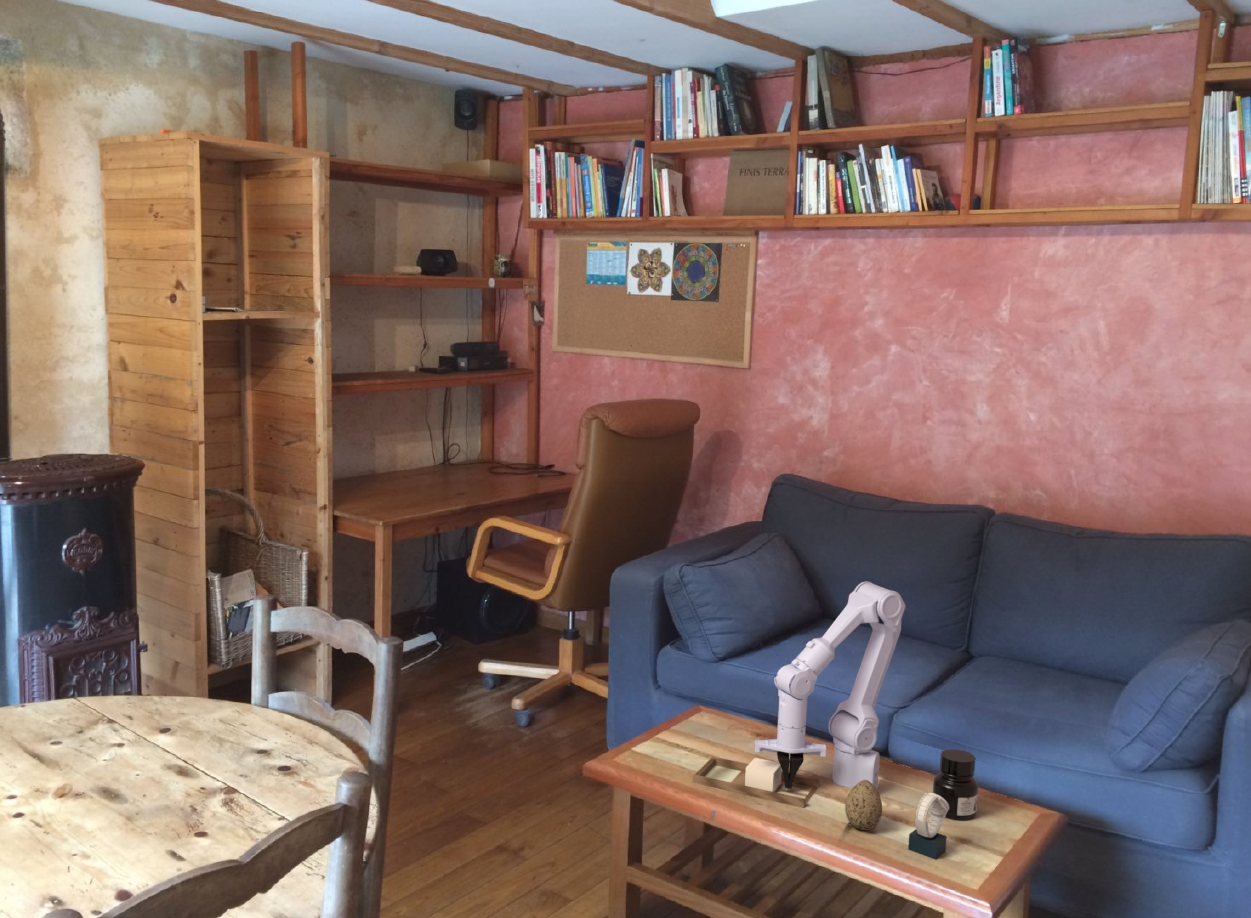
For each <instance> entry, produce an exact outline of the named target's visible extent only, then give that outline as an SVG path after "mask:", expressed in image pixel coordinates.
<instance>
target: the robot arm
mask: <svg viewBox="0 0 1251 918" xmlns="http://www.w3.org/2000/svg"><path fill="white" fill-rule="evenodd" d="M847 600H848V601H847V604H846V606H845V607H844V608H843V610H842V611H841V612H840V614H838V616H837V617H836V619H835V620H834V621H833V623H832V624H831V625H830V627H828V629H827V630H826V632H825V633H824V634H823V636H822V637H816V638H812V640H809V641H808V642H807V643H806V644H805V648H803V650H801V652H800V653H799V654H798V655H797V656H796V657H795V659H792V660H791V663H790V664H789V663H788V664H786V665H784V666H781V667H780V669H778V671H777V673H776V677H774V679H773V680H774V681H773V682H774V685H775V687H776V688H777V690H778V693H777V695H778V716H777V730H776V731H777V732H776V733H777V734H776V735H777V736H776V738H774V739H755V740H754V752H755V753H761V752H764V753H765V752H766V753H776V756H777V757H776V758H777V759H778V760H777V761H778V763H780V766H781V768H782V771H783V775H784V781H785V783H784V788H785V789H792V788H793V781H794V778H795V775H796V774H798V771H799V769H801V766H802V765H803V763H804V755H808V756H809V755H810V756H811V755H812V756H820V757H821V758H826V757H827V745H826V744H824V743H823V744H821V743H816V742H810V741H807V740H806V725H807V709H808V697H809V696H810V695H811V694H812V693H813V692H814V689H815V684H816V682H817V681H818V676H820V674H821V673H822V672H823V671H824V670H825V669H826V668H827V666H828V665H829V664H830V663H831V662H832V661H833V660H834V659H835V649H837V647H838V646H839V645H840V644H841V643H842V642H844V640H845V639H846V638H847V637H848V636H849V635H850V634H851V633H853V631H854V630H856V629H857V628H858V627H859V625H861V624H869V625H870V627H871V629H872V632H871V635H870V638H869V640H868V642H867V646H866V648H865V652H864V654H863V658H862V659H861V664H860V667H859V669H858V671H857V672H858V673H857V675H856V677H855V680H854V684H853V685H852V690H851V692H850V695H849V698H847V699H846V700H843V701H841V702H839V703H838V707H837V709H836V710H835V712H834V713H833V714H832V715H831V717H830V718H829V720H828V721H829V722H828V725H827V726H828V727H827V728H828V732H829V734H830V735H831V736H832V738H833V739H832V742H833V744H834V745H833V746H834V747H833V748H834V749H833V763H832V764H833V765H832V781H833V782H834V784H837V785H839V786H841V787H845V788H851V789H852V788H853V787H854V786H855V785H856V784H857V783H858V782H860V781H862V780H868V781H869V782H871V783H872V785H873V786H874V787H875V788H876V789H877V788H878V787H879V772H880V771H879V770H880V752H878V751H876V750H872V749H873V748H874V746H875V745H876V743H877V740H878V727H879V725H880V724H879V723H880V720H879V717H878V715H877V713H876V711H875V706H876V703H877V701H878V698H879V694H880V693H881V692H880V691H881V688H882V686H883V683H884V680H885V677H886V674H887V671H888V669H889V666H890V662H891V660H892V657H893V654H894V652H895V649H896V646H897V643H898V640H899V638H900V634H901V631H902V618H903V615H904V612H905V610H906V606H907V605H906V604H905V601H904V599H903V598H902V596H901V595H900V593H899V592H898V591H894V590H892V589H891V590H890V589H887V588H885V587H882V586H879V585H877V584H875V583H872V582H871V581H868V580H867V581H863V582H860V583H859V584H858V585H856V587H855V588H854V590H853V591H852V592H850V593H849V595H848V599H847Z"/></svg>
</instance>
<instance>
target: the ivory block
mask: <svg viewBox="0 0 1251 918" xmlns="http://www.w3.org/2000/svg"><path fill="white" fill-rule="evenodd" d="M748 764H749V765H748V766H747V767H746V773H745V786H749V787H754V788H758V789H763V790H767V791H772V792H775V790H776V789H777V788H778V787H779V785H780V784H781V772H782V768H781V766H780V763H779V761H778V762H776V761H773V760H767V759H762V758H758V757H754V758H753V759H752V760H751V761H750V763H748Z"/></svg>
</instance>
